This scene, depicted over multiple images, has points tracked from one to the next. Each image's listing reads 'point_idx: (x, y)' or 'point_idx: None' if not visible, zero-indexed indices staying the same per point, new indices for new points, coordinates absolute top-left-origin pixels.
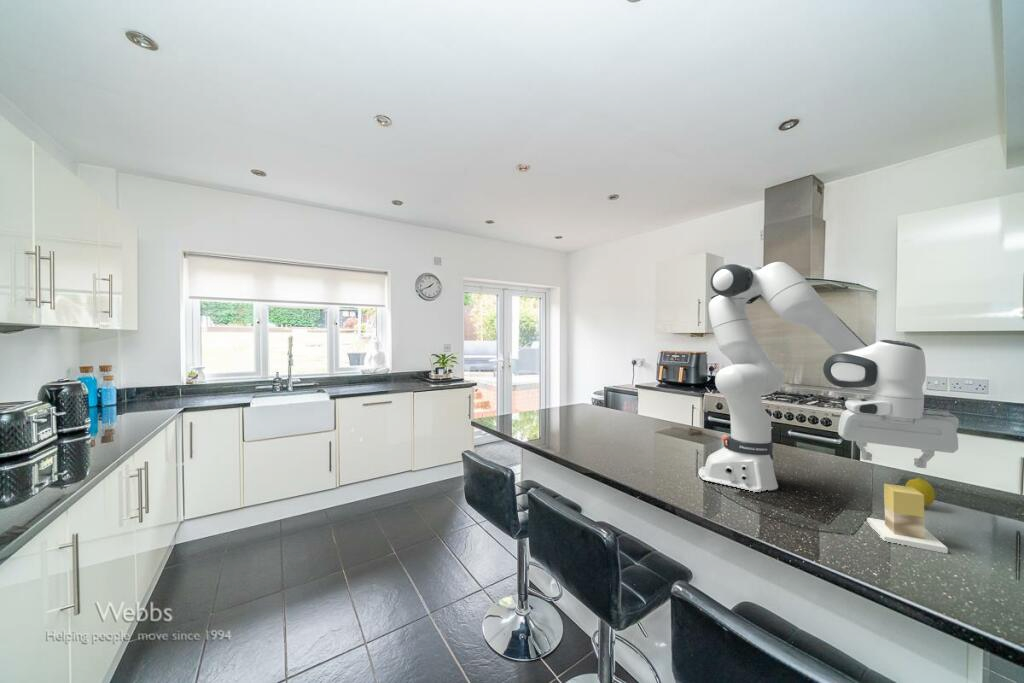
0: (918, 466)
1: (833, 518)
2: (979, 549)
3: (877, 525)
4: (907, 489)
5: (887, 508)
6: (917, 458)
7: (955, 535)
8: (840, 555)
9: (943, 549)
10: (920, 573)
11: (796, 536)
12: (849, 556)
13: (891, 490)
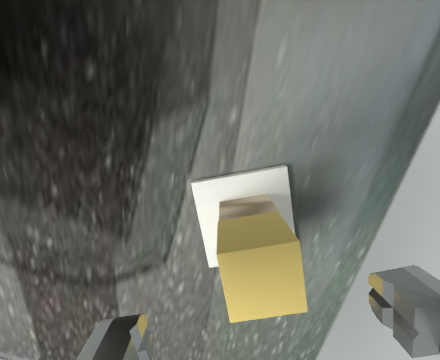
0: (379, 314)
1: (135, 201)
2: (351, 194)
3: (205, 218)
4: (275, 279)
5: None
6: (435, 303)
7: (337, 144)
8: None
9: None
10: (237, 339)
11: (88, 323)
12: (158, 343)
13: (227, 306)
